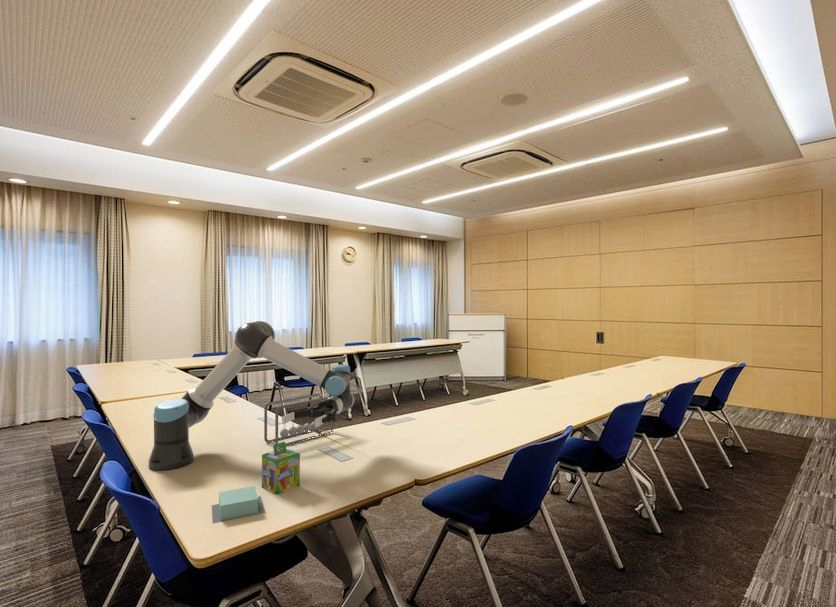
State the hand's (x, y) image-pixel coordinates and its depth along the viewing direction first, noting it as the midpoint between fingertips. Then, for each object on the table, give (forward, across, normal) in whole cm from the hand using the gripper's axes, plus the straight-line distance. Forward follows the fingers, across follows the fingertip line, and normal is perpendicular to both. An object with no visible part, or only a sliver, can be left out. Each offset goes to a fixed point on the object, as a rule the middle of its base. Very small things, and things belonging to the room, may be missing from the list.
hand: (299, 421), depth 154 cm
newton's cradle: (-39, +26, -20) cm, 50 cm away
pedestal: (+27, +3, -19) cm, 33 cm away
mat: (+27, +3, -20) cm, 34 cm away
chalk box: (+10, +1, -20) cm, 22 cm away
